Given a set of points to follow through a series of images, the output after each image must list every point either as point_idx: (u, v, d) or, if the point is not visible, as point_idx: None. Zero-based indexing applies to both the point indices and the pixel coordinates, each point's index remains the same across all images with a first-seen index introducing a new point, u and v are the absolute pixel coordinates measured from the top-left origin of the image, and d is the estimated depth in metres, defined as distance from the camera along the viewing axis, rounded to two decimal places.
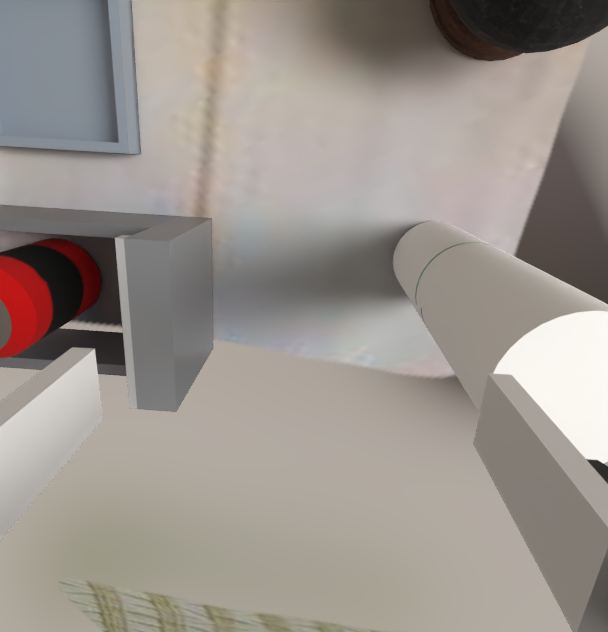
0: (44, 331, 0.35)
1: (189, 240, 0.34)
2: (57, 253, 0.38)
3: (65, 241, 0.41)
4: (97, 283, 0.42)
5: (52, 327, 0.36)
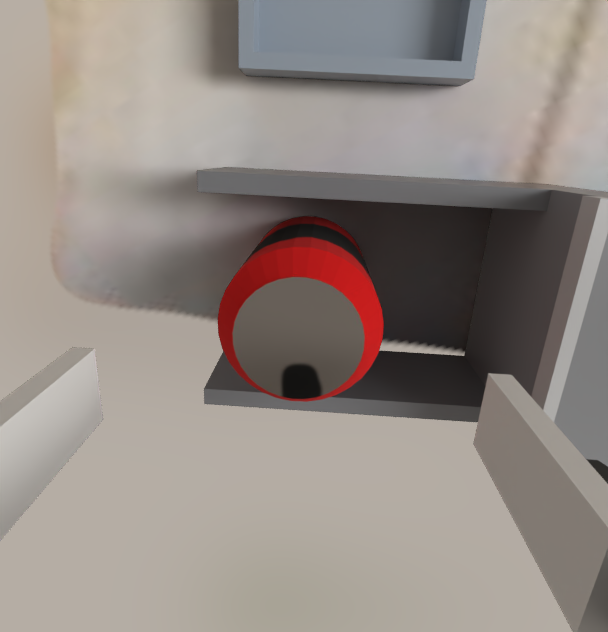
0: None
1: None
2: (343, 236, 0.25)
3: (326, 220, 0.28)
4: None
5: None
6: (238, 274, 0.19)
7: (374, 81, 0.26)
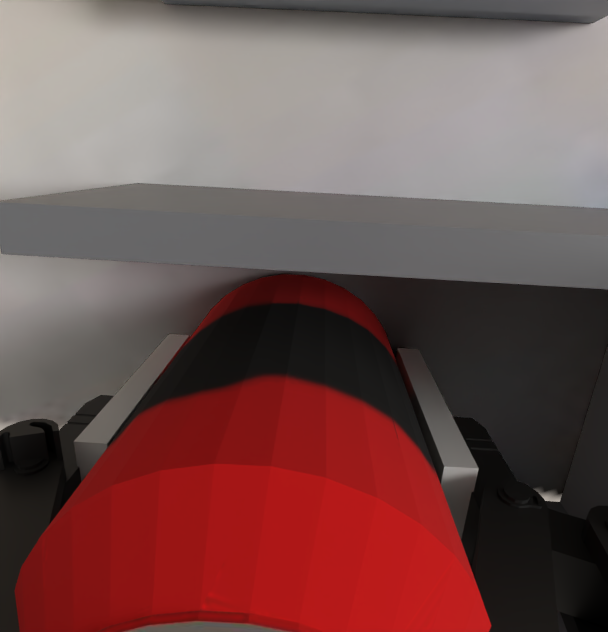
0: None
1: None
2: (359, 329, 0.12)
3: (324, 282, 0.15)
4: None
5: None
6: (50, 535, 0.06)
7: (420, 13, 0.13)
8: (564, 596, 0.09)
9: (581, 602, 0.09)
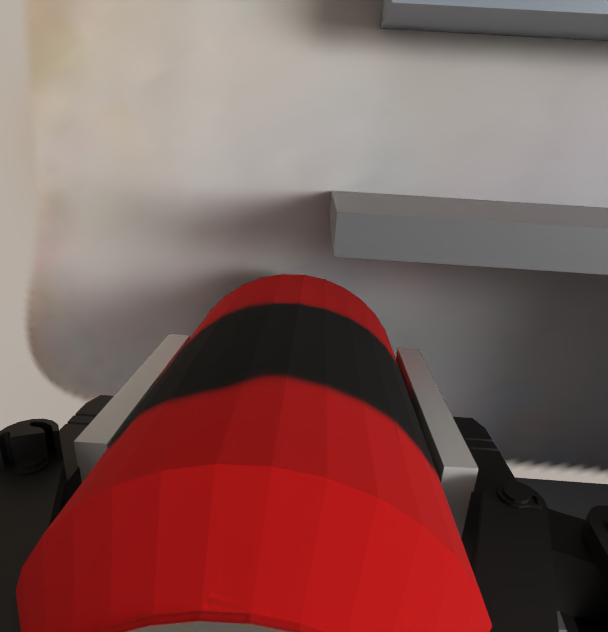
0: None
1: None
2: (360, 329, 0.12)
3: (325, 282, 0.15)
4: None
5: None
6: (51, 535, 0.06)
7: None
8: (564, 596, 0.09)
9: (581, 602, 0.09)
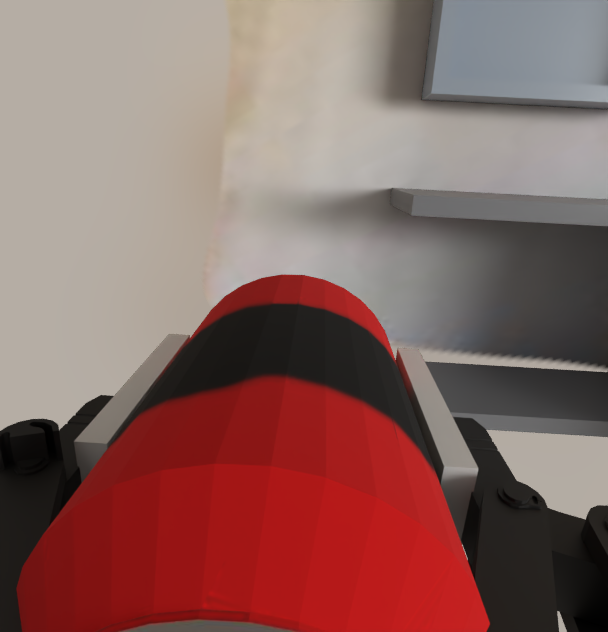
0: None
1: None
2: (359, 329, 0.12)
3: (324, 283, 0.15)
4: None
5: None
6: (51, 534, 0.06)
7: (548, 105, 0.26)
8: (564, 596, 0.09)
9: (581, 602, 0.09)
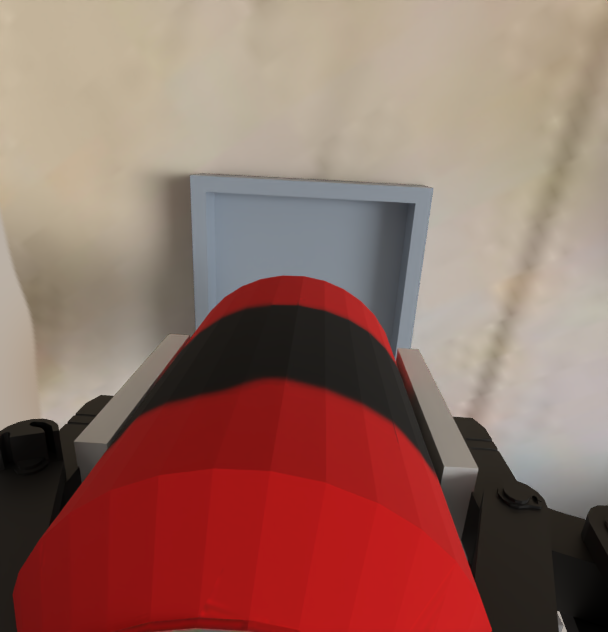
0: None
1: None
2: (359, 331, 0.12)
3: (324, 284, 0.15)
4: None
5: None
6: (47, 540, 0.06)
7: None
8: (564, 597, 0.09)
9: (581, 602, 0.09)
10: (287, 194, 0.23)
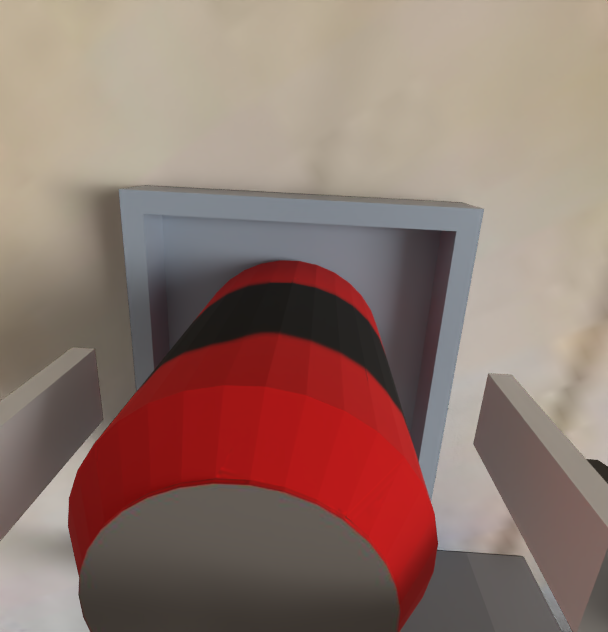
0: None
1: None
2: (344, 304, 0.14)
3: (316, 267, 0.17)
4: None
5: None
6: (100, 443, 0.08)
7: None
8: None
9: None
10: (265, 218, 0.15)
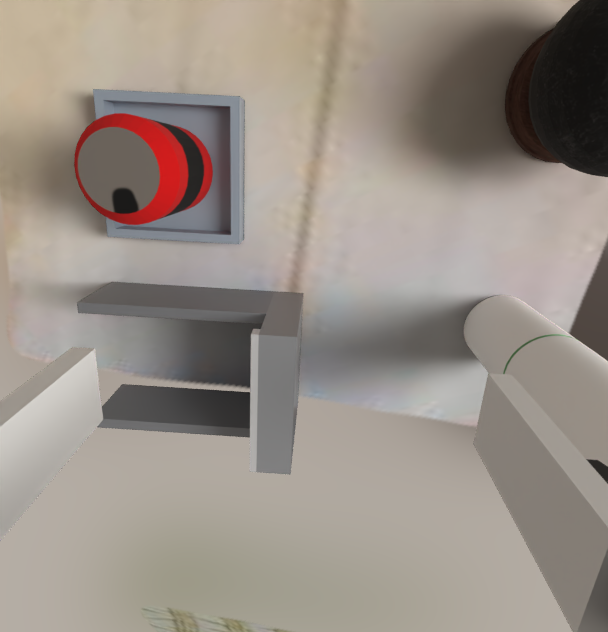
0: (180, 198, 0.33)
1: (299, 324, 0.39)
2: (180, 130, 0.37)
3: (179, 127, 0.40)
4: (211, 172, 0.40)
5: (183, 199, 0.35)
6: (83, 133, 0.31)
7: None
8: None
9: None
10: (152, 101, 0.38)
